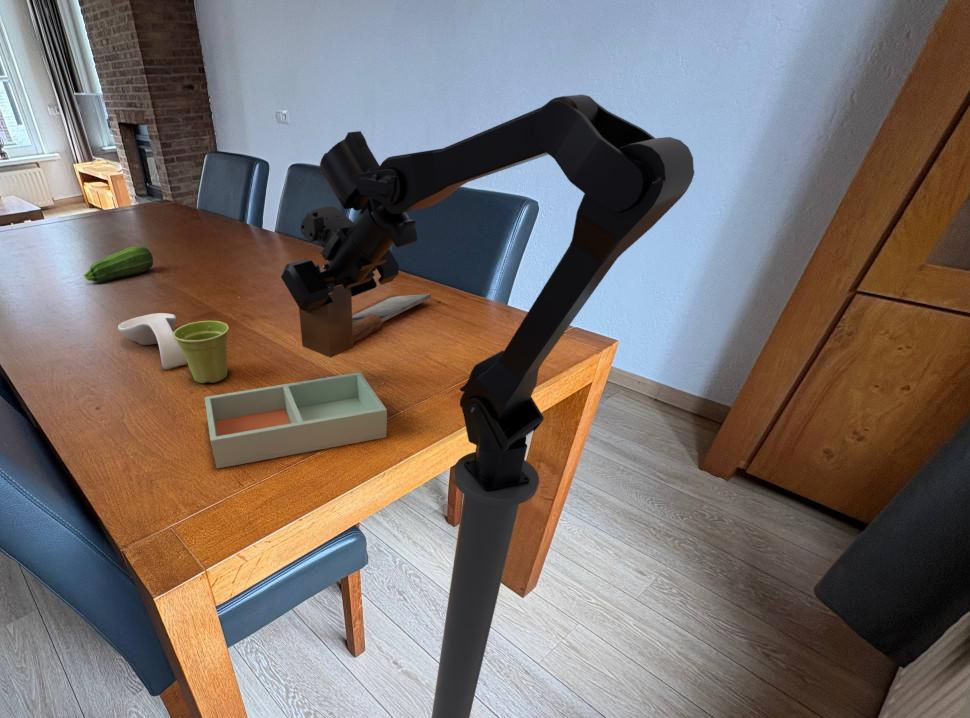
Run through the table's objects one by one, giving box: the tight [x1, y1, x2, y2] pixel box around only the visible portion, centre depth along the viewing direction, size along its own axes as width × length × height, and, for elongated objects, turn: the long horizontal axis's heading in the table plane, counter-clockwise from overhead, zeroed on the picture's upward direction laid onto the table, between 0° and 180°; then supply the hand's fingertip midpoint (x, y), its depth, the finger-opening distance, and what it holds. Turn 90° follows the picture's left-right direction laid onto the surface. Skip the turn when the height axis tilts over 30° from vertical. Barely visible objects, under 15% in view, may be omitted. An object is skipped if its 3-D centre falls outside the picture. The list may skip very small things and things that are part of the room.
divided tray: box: [204, 371, 388, 469], centre depth 75 cm, size 13×24×5 cm, turn 105°
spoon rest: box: [117, 312, 188, 370], centre depth 101 cm, size 24×12×7 cm, turn 32°
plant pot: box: [173, 320, 230, 384], centre depth 89 cm, size 9×9×9 cm
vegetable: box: [83, 245, 154, 284], centre depth 144 cm, size 7×7×20 cm
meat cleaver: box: [352, 293, 432, 344], centre depth 109 cm, size 34×11×4 cm, turn 140°
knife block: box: [298, 263, 354, 359], centre depth 80 cm, size 5×7×13 cm
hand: (319, 305), depth 80 cm, fingers closed on knife block, 5 cm apart
